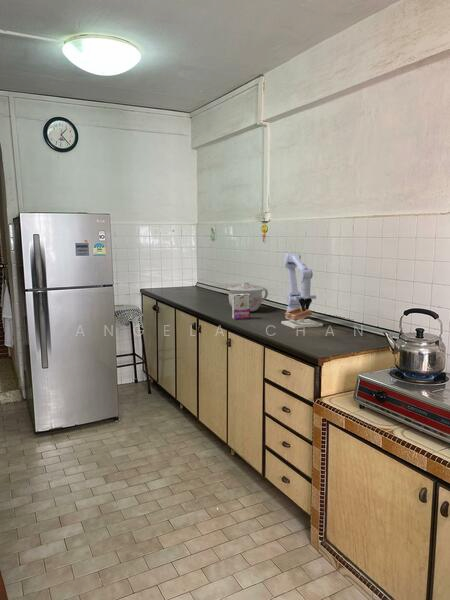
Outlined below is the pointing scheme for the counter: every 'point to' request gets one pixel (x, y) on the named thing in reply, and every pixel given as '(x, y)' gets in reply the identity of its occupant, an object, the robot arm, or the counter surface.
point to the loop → (298, 314)
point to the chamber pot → (249, 289)
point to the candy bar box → (240, 306)
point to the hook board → (301, 323)
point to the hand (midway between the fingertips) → (304, 310)
